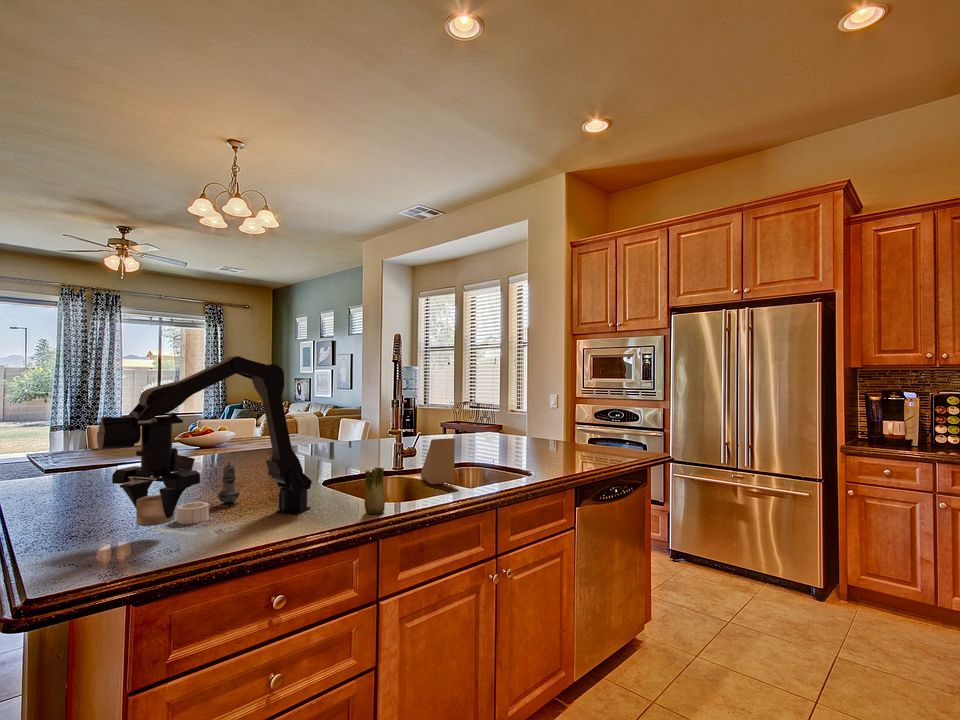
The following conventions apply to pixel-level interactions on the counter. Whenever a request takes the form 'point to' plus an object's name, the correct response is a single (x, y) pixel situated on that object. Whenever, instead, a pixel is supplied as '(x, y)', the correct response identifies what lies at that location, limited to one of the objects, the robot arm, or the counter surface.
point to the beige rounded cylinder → (151, 511)
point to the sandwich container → (439, 461)
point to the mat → (175, 531)
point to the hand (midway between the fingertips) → (155, 516)
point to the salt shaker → (228, 487)
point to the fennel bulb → (374, 491)
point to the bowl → (192, 512)
